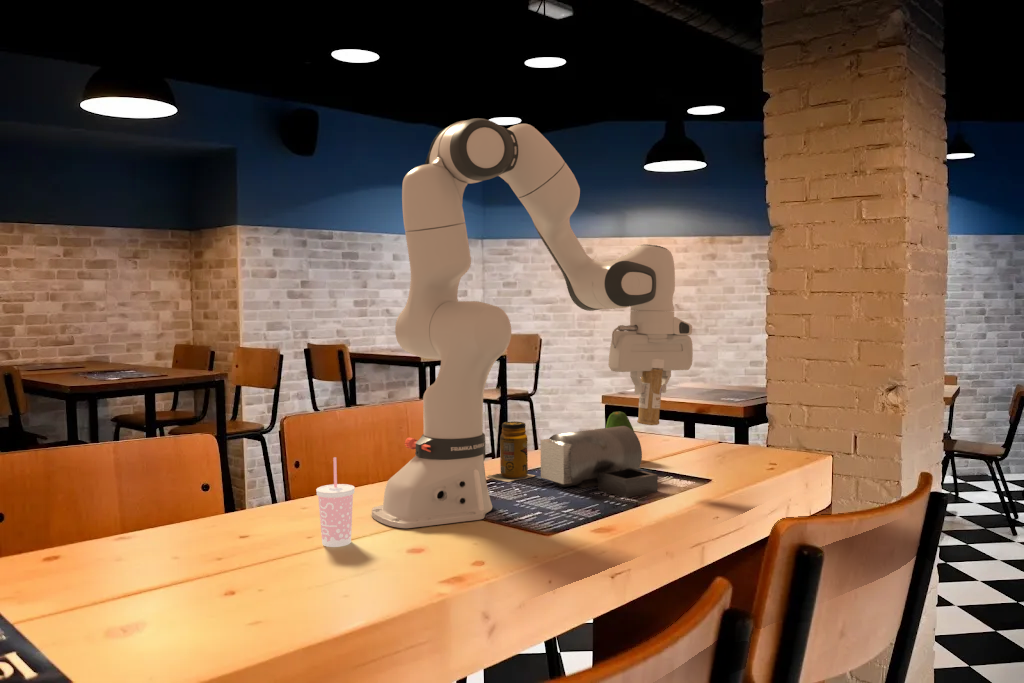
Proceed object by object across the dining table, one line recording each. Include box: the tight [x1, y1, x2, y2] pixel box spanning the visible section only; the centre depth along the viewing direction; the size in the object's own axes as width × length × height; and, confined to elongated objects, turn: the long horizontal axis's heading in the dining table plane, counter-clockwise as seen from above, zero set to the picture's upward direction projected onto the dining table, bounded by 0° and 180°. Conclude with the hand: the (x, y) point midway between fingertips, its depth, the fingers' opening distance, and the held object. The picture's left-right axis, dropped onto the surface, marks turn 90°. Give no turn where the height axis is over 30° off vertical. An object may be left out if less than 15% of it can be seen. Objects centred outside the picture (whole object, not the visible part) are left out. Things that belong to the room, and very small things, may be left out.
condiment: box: [486, 421, 537, 483], centre depth 181 cm, size 7×8×12 cm
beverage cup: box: [315, 457, 355, 548], centre depth 133 cm, size 6×6×14 cm
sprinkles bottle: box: [636, 359, 664, 426], centre depth 167 cm, size 5×5×14 cm
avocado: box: [605, 410, 636, 434], centre depth 197 cm, size 8×8×12 cm
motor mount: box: [540, 426, 659, 499], centre depth 172 cm, size 23×21×11 cm
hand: (650, 393), depth 167 cm, fingers closed on sprinkles bottle, 4 cm apart
